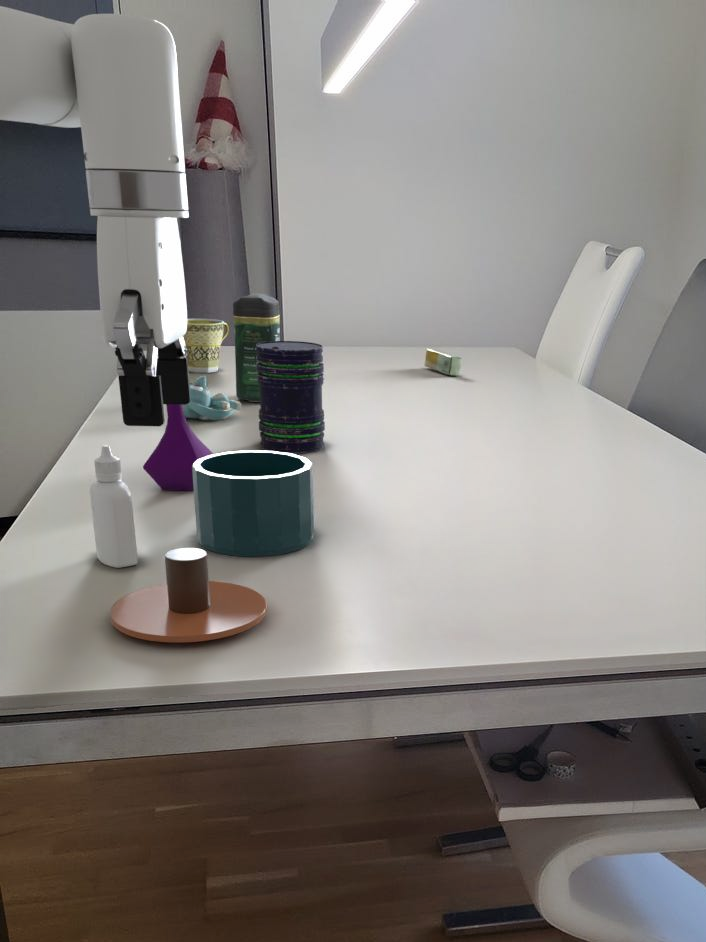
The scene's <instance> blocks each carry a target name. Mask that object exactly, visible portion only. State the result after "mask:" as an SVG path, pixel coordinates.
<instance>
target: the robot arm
mask: <svg viewBox="0 0 706 942" xmlns="http://www.w3.org/2000/svg"><path fill="white" fill-rule="evenodd" d="M177 60H178V58H177V50H176V42H175V40H174V37H173V35H172V33H171V31H170V29H169V28H168V27H167V26H166V25H165V24H164V23H162V22H160V21H159V20H156V19H153V18H149V17H144V16H140V15H139V16H138V15H134V14H126V13H125V14H124V13H93V14H87V15H84V16H81V17H79V18H78V19H77V20H76V21H74V23H68V22H64V21H60V20H56V19H52V18H47V17H44V16H41V15H39V14H33V13H30V12H26V11H23V10H19V9H16V8H15V9H14V8H11V7H6V6H3V5H0V121H7V122H16V123H17V122H18V123H27V124H36V125H39V126H48V127H57V128H66V129H69V128H70V129H72V128H73V129H74V128H75V129H76V128H80V131H81V132H80V133H81V139H82V149H83V158H84V166H85V169H86V170H85V176H86V177H85V179H86V188H87V195H88V196H87V197H88V203H89V204H88V205H89V212H90V216H91V217H92V216H93V217H97V219H96V220H97V222H96V264H97V279H98V295H99V296H98V297H99V310H100V311H99V312H100V322H101V334H102V340H103V342H104V343H105V345H107V346H108V347H110V348H115V350H114V354H115V356H116V357H117V362H116V372H117V375H118V377H117V378H118V385H119V394H120V404H121V413H122V422H123V424H124V425H125V426H127V427H162V426H163V425H164V424H165V421H166V419H165V409H164V408H165V407H164V405H166V404H183V405H186V404H188V403H189V402H190V401H191V396H190V384H189V383H190V374H189V371H188V360H187V358H186V354H187V351H186V345H185V341H184V338H183V335H185V333H186V331H187V319H188V309H187V308H188V304H187V292H186V279H185V271H184V262H183V254H182V245H181V244H182V242H181V237H180V231H179V223H178V219H179V218H181V219H187V218H188V219H189V218H190V214H189V213H190V212H189V200H188V199H189V198H188V188H187V187H188V186H187V175H186V163H185V162H186V161H185V152H184V151H185V149H184V137H183V124H182V123H183V122H182V111H181V109H182V108H181V99H180V98H181V97H180V85H179V76H178V75H179V72H178V71H179V70H178V61H177ZM144 352H146V355H145V353H144Z"/></svg>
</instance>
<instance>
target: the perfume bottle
mask: <svg viewBox="0 0 706 942" xmlns="http://www.w3.org/2000/svg"><path fill="white" fill-rule="evenodd" d="M165 406H166V413H167V414H166V416H167V417H166V418H167V421H166V426H165V430H164V433H163V435H162V436H161V438H160V440H159V442H158V444H157V446H156V447H155V449H154V450H153V452H152V453H151V454H150V455H149V457H148V458H147V460H146V461H145V462H144V464H143V465H142V468H143V470H144V471H145V472H146V474H148V475H149V476H150V478H151V479H152V480H153V481H154V482H155V483H156V484H157V486H158V487H159V488H160V489H161V490H164V491H181V492H185V491H186V492H194V486H193V472H192V465H193V463H194V462H195V461H196V460H197V459H200V458H203V457H206V456H209V455H213V454H214V453H213V451H212V450H211V449H209V448H208V447H207V446H206V445H205V443H203V442H202V441H201V439H200V438H199V437H198V436H197V435H196V434H195V433H194V431H192V428H191V427H190V425H189V424H188V422H187V418H186V417H185V416H184V412H183V408H182V404H165Z"/></svg>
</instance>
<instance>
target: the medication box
mask: <svg viewBox="0 0 706 942" xmlns="http://www.w3.org/2000/svg"><path fill="white" fill-rule="evenodd" d="M425 350H426V352H425V359H424V365H423V366H424V367H426V368H429V369H432V370H434V371H436V372H439V373H442V374H444V375H448V376H449V377H450V376H451V377H460V373H461V366H462V357H460V356H457V355H453V354H450V353H448V352H445V351H441V350H438V349H433V348H426V349H425Z"/></svg>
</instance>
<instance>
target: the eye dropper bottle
mask: <svg viewBox="0 0 706 942" xmlns="http://www.w3.org/2000/svg"><path fill="white" fill-rule="evenodd" d="M93 461H94V471H95V472H94V473H95V480H96V481H94V482H93V483H92V484H91V485H90V488H89V495H90V506H91V516H92V525H93V534H94V543H95V551H96V552H95V553H96V557H97V559H98V561H99V562H101V564H104V565H106V566H108V567H111V568H115V569H118V568H119V569H120V568H126V567H127V568H128V567H131V566H135V565H137V564H138V561H139V560H138V559H139V558H138V547H137V537H136V527H135V526H136V525H135V517H134V507H133V498H132V493H131V490H130V488H129V486H127V484H126V483H125V482H124V481H123V480H122V479H123V478H122V477H123V476H122V465H121V459H120V458H118V457H117V456H115V455H113V453H112V450H111V447H110V445H109V444H103V445H101V451H100V456H99V457H97V458H95V459H94V460H93Z"/></svg>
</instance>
